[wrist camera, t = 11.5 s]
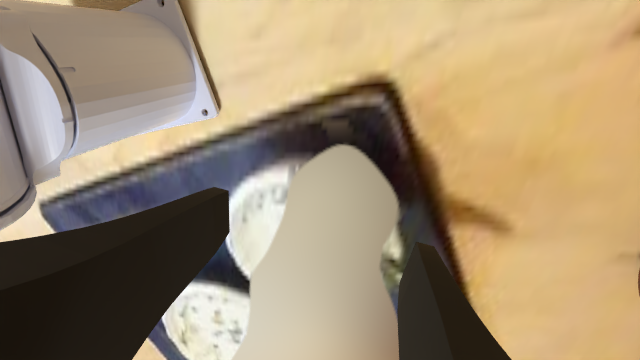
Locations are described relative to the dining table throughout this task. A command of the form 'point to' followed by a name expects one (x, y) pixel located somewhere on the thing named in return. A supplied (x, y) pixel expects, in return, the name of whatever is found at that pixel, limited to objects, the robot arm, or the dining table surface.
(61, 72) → the robot arm
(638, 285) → the tin
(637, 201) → the dining table surface
